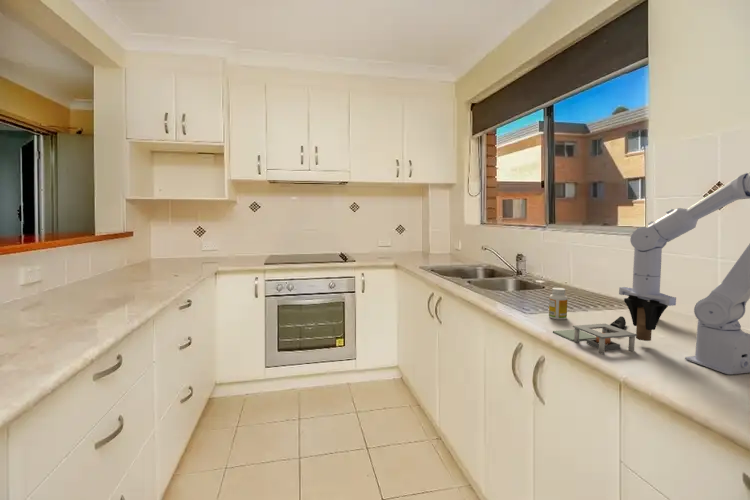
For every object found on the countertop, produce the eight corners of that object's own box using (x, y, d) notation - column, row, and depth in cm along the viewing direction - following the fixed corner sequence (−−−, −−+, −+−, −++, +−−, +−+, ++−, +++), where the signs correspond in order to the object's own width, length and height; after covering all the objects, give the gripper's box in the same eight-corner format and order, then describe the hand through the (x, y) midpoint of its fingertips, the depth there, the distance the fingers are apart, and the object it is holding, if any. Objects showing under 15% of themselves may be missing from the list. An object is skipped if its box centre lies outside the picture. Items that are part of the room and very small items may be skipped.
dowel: (654, 340, 98) (655, 309, 98) (643, 341, 98) (645, 309, 97) (643, 336, 101) (644, 306, 101) (632, 337, 101) (634, 307, 100)
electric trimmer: (629, 327, 119) (629, 316, 118) (619, 338, 107) (620, 326, 107) (614, 324, 121) (615, 314, 121) (604, 335, 109) (604, 324, 109)
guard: (636, 351, 96) (637, 334, 96) (601, 353, 94) (602, 337, 93) (604, 338, 106) (605, 323, 105) (572, 341, 104) (573, 325, 103)
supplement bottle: (567, 317, 128) (568, 288, 128) (565, 320, 124) (567, 290, 123) (549, 314, 131) (550, 286, 130) (547, 318, 127) (548, 289, 126)
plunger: (613, 343, 98) (613, 335, 98) (602, 344, 98) (603, 336, 98) (603, 339, 102) (604, 332, 101) (593, 340, 101) (593, 333, 101)
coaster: (598, 339, 105) (598, 337, 105) (572, 341, 104) (572, 339, 104) (577, 330, 113) (577, 329, 113) (552, 332, 111) (553, 330, 111)
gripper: (610, 271, 104) (608, 321, 106) (659, 279, 90) (656, 336, 91) (632, 270, 106) (630, 319, 107) (684, 278, 92) (681, 334, 93)
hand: (644, 327), depth 99 cm, fingers closed on dowel, 3 cm apart
